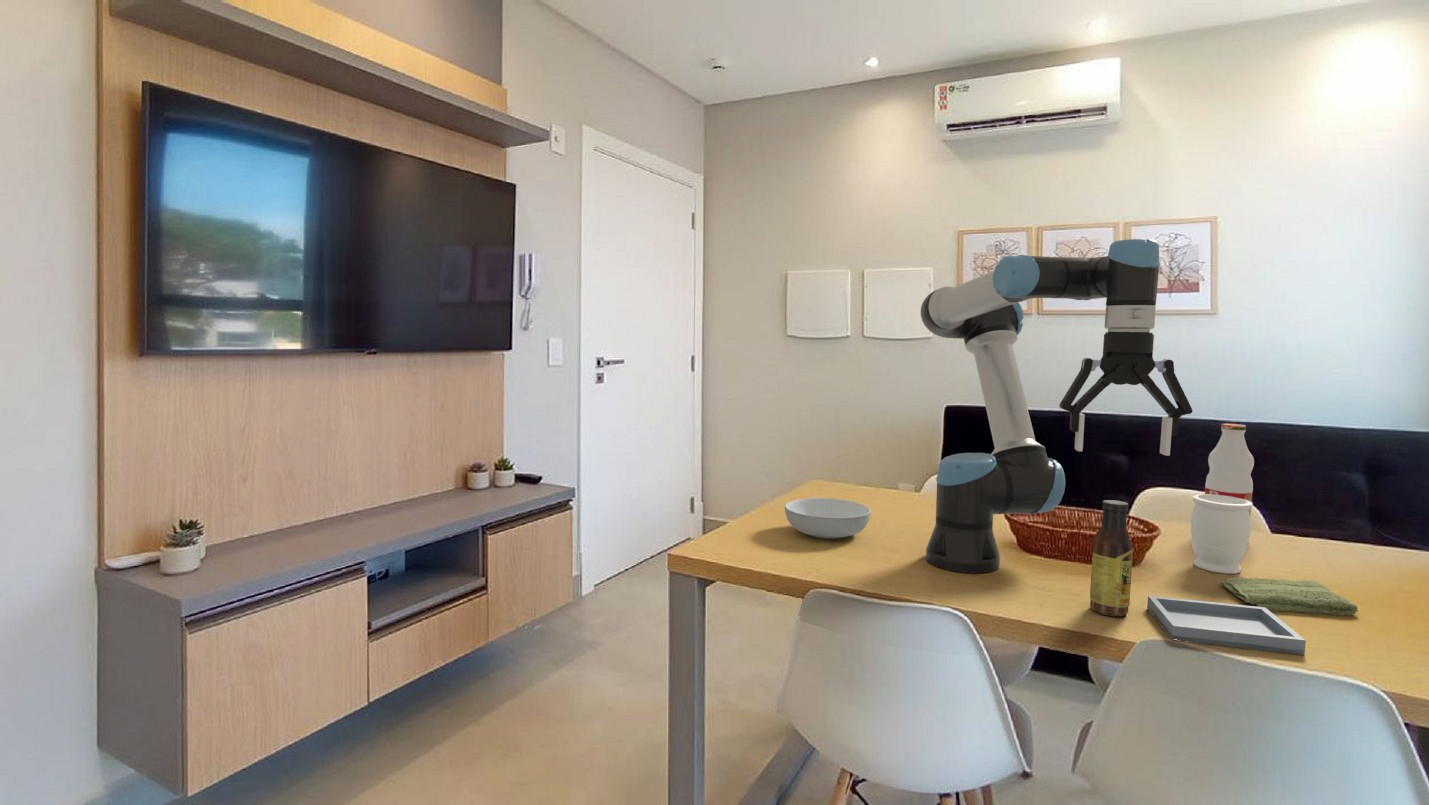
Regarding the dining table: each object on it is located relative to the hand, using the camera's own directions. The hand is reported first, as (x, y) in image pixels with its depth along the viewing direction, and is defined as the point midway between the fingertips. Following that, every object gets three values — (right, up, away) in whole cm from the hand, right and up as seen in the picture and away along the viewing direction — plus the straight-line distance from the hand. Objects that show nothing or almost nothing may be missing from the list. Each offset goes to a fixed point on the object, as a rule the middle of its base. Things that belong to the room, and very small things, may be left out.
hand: (1120, 452), depth 126 cm
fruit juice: (+54, -25, +50) cm, 78 cm away
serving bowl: (-44, -24, +50) cm, 71 cm away
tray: (+14, -30, -6) cm, 33 cm away
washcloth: (+35, -29, +8) cm, 47 cm away
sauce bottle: (-1, -29, +2) cm, 29 cm away
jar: (+36, -27, +27) cm, 52 cm away
